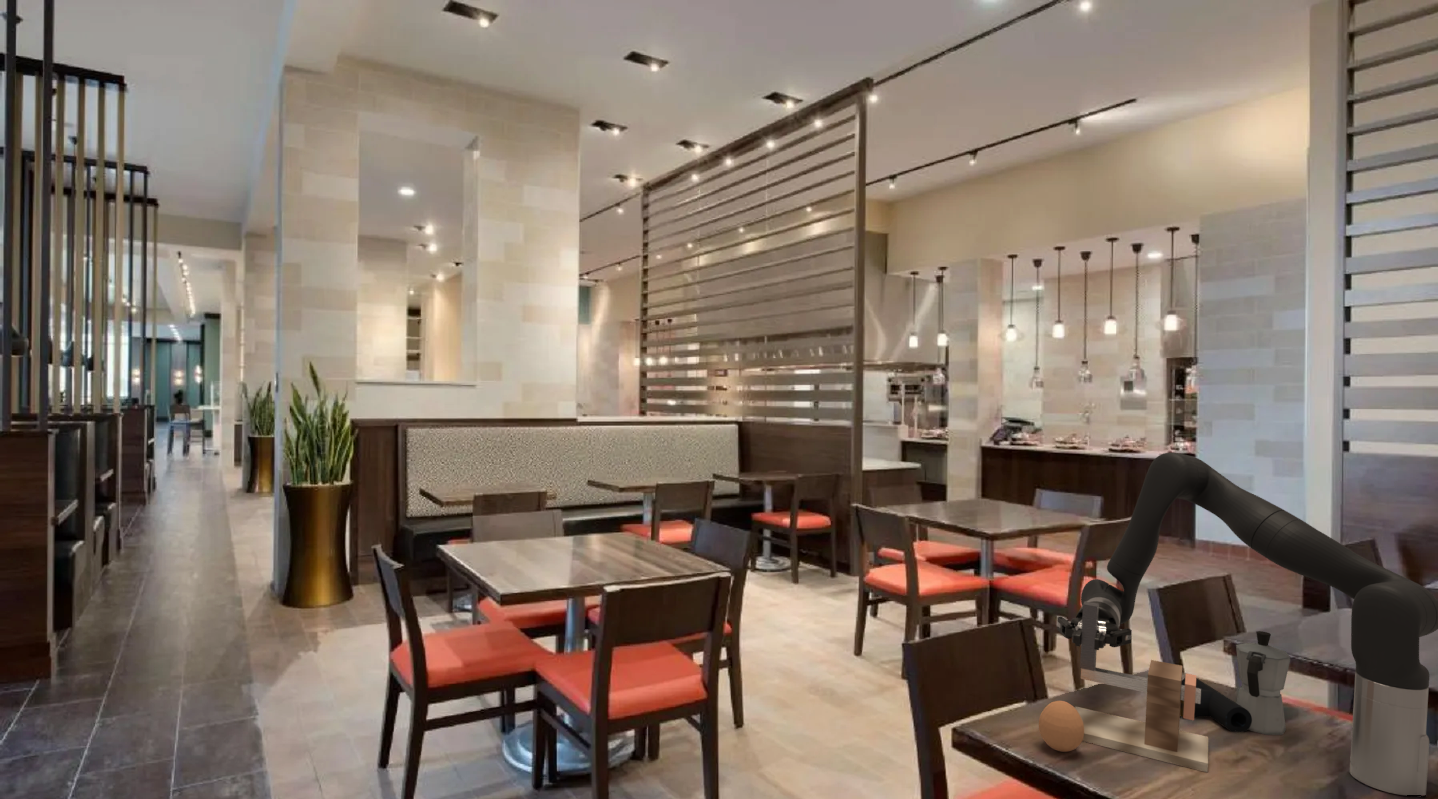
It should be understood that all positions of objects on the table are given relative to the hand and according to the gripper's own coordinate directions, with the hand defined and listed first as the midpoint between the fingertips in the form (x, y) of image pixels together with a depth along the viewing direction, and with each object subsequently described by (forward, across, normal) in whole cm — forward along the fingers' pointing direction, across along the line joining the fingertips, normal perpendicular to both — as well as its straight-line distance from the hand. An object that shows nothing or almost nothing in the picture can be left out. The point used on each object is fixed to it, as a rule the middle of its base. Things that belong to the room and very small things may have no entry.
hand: (1087, 642), depth 144 cm
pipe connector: (-24, +18, +18) cm, 34 cm away
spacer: (-3, +16, +10) cm, 19 cm away
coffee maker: (-24, +28, +17) cm, 40 cm away
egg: (+9, -2, +17) cm, 20 cm away
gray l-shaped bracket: (-3, +8, +7) cm, 12 cm away
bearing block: (-3, +8, +17) cm, 19 cm away
